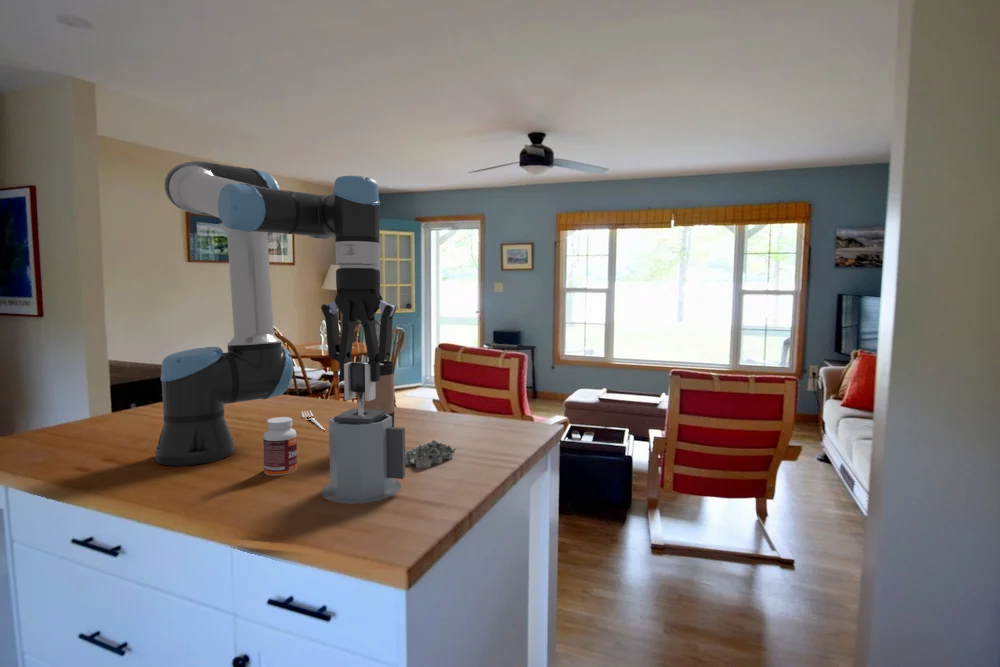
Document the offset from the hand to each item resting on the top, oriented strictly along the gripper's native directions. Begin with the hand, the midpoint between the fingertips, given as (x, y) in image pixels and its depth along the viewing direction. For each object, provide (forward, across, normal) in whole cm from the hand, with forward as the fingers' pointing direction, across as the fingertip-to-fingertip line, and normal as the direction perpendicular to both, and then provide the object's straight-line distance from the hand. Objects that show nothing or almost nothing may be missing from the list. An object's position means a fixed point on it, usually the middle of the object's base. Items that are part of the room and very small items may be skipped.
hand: (360, 398), depth 98 cm
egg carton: (+18, +7, +18) cm, 26 cm away
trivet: (+17, 0, 0) cm, 17 cm away
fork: (+18, -34, +44) cm, 59 cm away
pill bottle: (+17, -20, +6) cm, 27 cm away
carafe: (+16, +1, 0) cm, 17 cm away
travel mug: (+17, -8, +26) cm, 32 cm away
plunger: (+14, 0, 0) cm, 14 cm away
